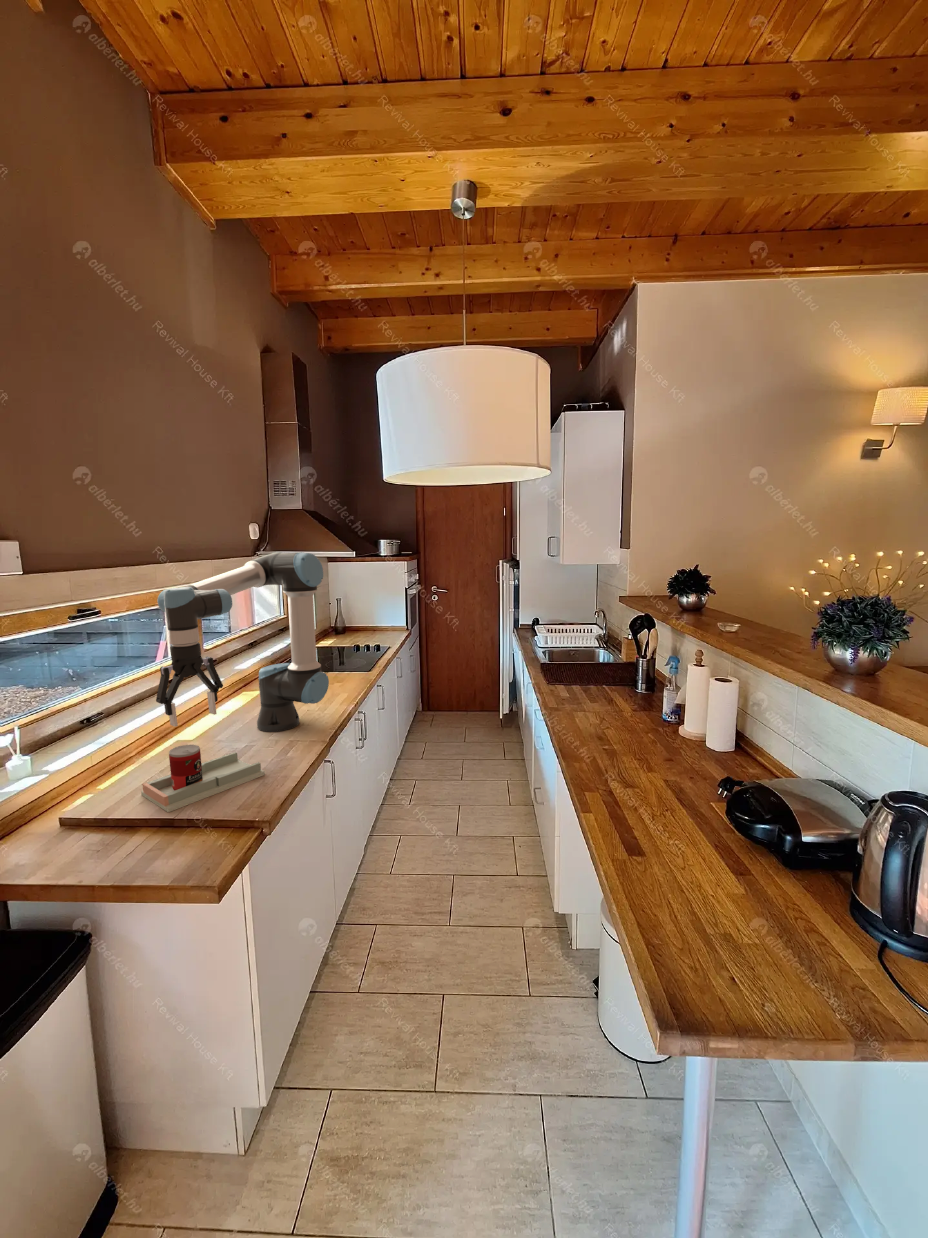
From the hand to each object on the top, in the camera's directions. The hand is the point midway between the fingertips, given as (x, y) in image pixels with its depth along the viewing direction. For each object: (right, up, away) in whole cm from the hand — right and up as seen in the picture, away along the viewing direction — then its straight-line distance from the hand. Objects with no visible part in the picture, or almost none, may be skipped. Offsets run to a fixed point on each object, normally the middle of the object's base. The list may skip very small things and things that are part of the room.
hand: (194, 719), depth 157 cm
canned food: (-1, -19, -2) cm, 19 cm away
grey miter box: (+2, -19, +2) cm, 20 cm away
